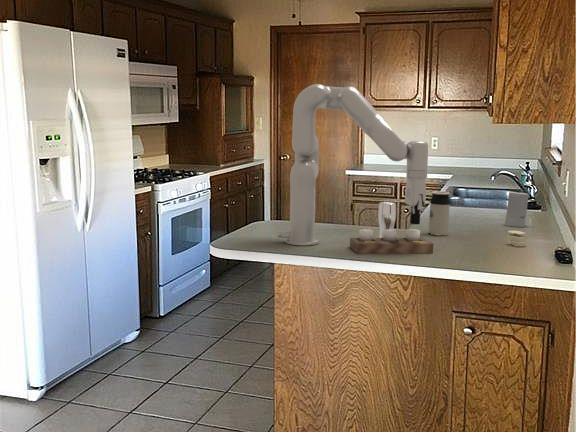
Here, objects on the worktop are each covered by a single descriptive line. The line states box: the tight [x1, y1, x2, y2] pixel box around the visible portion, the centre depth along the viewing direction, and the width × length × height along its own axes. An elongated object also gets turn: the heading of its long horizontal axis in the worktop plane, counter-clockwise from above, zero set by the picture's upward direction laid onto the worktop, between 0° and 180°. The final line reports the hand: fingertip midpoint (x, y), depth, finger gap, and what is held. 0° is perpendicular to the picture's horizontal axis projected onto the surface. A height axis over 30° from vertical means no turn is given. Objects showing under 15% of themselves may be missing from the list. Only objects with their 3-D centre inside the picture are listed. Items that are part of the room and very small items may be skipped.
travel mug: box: [428, 190, 451, 236], centre depth 269 cm, size 8×8×18 cm
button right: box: [405, 228, 421, 241], centre depth 237 cm, size 5×5×4 cm
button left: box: [358, 228, 374, 241], centre depth 234 cm, size 5×5×4 cm
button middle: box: [383, 228, 398, 241], centre depth 235 cm, size 5×5×4 cm
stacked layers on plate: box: [506, 230, 527, 247], centre depth 250 cm, size 10×9×6 cm
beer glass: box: [377, 201, 397, 238], centre depth 252 cm, size 7×7×15 cm
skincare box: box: [504, 191, 530, 228], centre depth 297 cm, size 8×7×16 cm
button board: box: [349, 237, 434, 255], centre depth 234 cm, size 28×12×4 cm, turn 98°
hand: (414, 223), depth 236 cm, fingers closed
